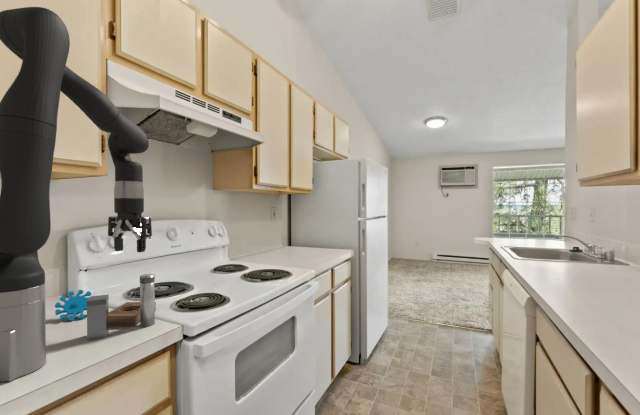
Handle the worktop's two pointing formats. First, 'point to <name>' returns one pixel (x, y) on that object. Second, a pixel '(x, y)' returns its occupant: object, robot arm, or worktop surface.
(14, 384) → the worktop surface
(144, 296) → the silver capped cylinder
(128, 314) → the socket plate
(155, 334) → the worktop surface
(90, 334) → the square bit
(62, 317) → the blue virus model
